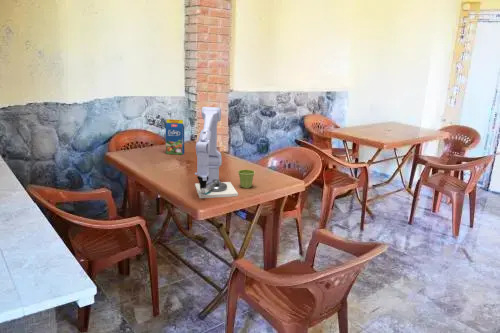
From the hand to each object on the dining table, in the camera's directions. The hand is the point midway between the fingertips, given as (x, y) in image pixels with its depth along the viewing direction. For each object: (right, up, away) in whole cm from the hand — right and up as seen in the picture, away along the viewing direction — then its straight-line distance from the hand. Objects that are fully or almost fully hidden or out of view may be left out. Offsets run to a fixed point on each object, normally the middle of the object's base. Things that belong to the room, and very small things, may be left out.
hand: (202, 189), depth 211 cm
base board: (+6, -1, +9) cm, 11 cm away
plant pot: (+22, +1, +18) cm, 29 cm away
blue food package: (-30, +21, +87) cm, 94 cm away
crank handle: (+4, -1, +5) cm, 6 cm away
